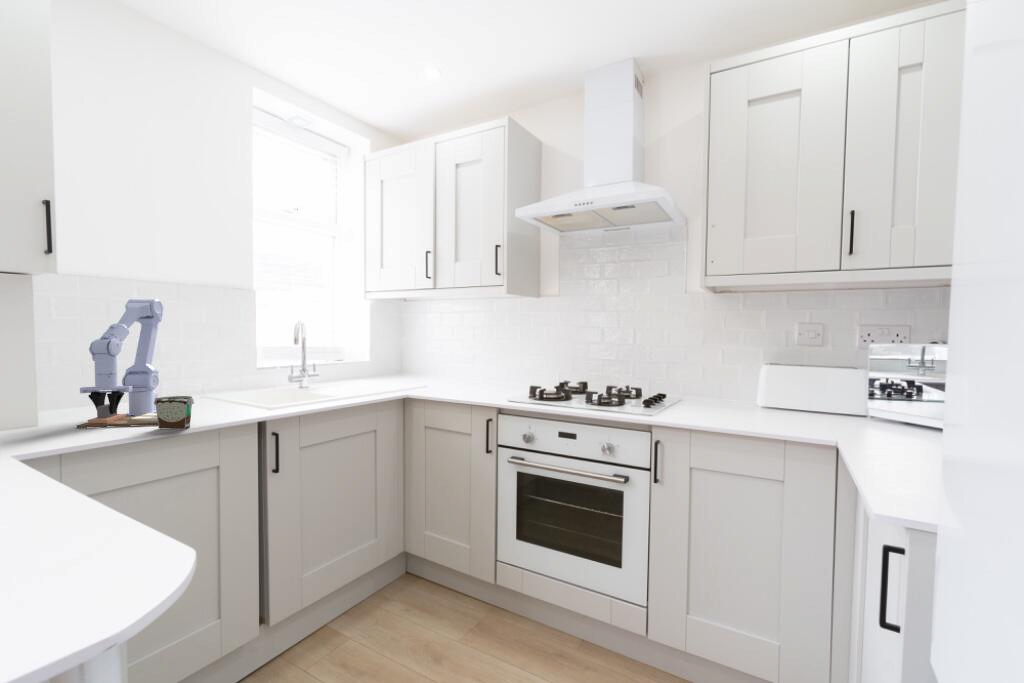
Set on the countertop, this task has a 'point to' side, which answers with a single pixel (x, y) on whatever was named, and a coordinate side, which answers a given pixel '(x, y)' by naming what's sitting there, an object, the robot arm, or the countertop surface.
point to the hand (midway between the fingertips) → (107, 413)
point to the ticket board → (126, 421)
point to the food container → (174, 411)
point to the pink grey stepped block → (105, 415)
